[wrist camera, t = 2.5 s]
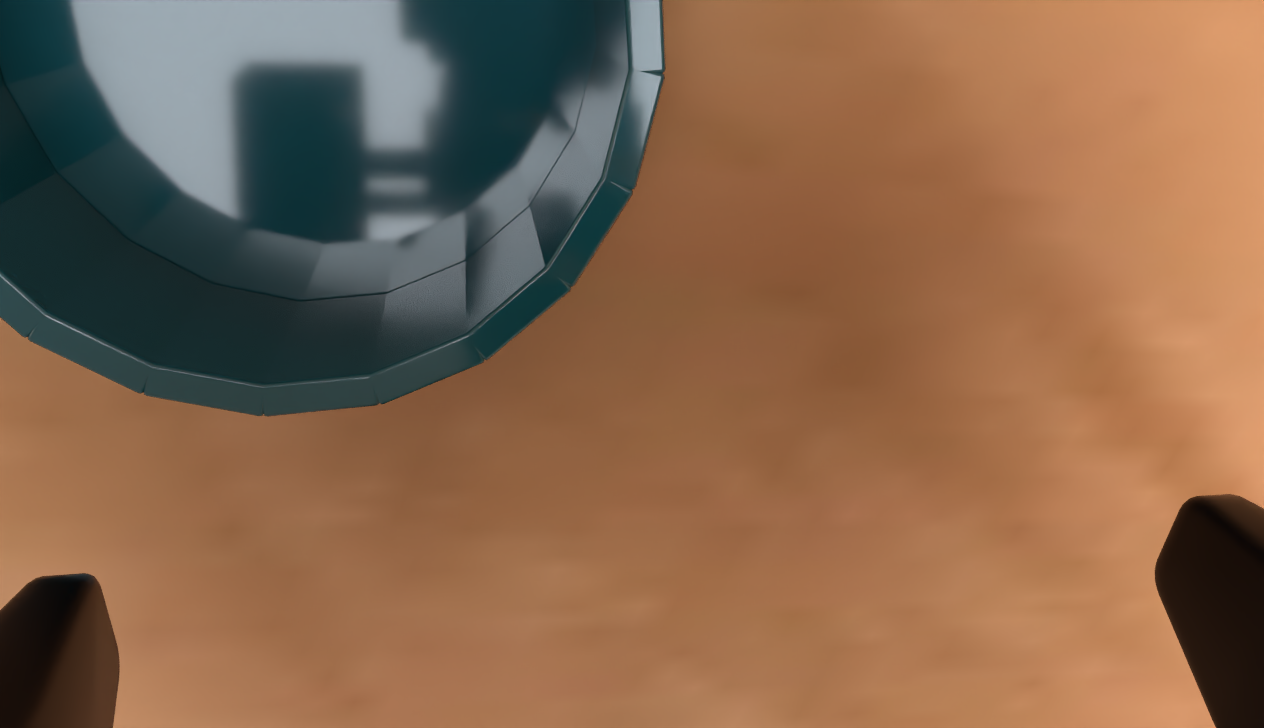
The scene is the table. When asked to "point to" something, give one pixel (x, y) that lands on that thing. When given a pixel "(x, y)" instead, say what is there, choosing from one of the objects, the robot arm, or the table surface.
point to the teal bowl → (309, 184)
